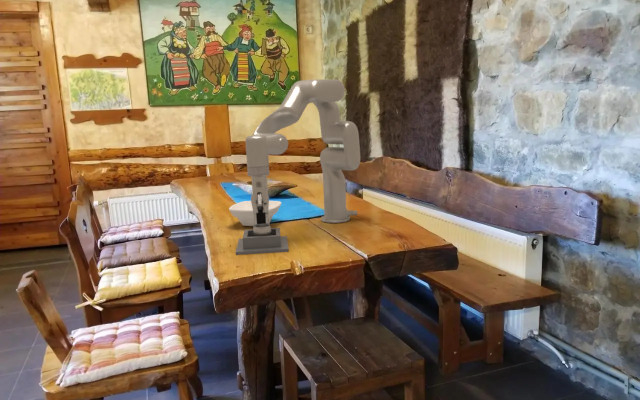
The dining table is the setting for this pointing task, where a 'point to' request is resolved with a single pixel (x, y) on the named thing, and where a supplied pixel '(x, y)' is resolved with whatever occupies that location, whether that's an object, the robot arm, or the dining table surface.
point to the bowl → (251, 211)
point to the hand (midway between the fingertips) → (261, 221)
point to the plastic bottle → (261, 228)
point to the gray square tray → (262, 243)
